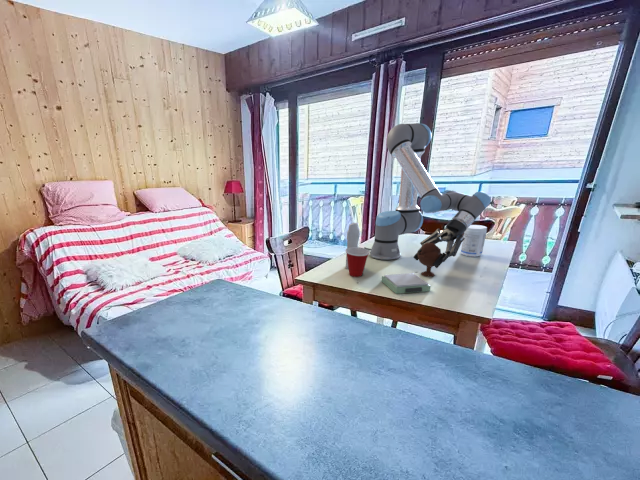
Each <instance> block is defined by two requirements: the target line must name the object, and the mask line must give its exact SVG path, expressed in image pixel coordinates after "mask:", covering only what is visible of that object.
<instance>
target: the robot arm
mask: <svg viewBox="0 0 640 480" xmlns="http://www.w3.org/2000/svg"><path fill="white" fill-rule="evenodd" d="M431 140H432V131H431V129H430V127H429V126H428V125H427V124H425V123H420V122H416V123H413V122H412V123H399V124H397V125H394V126H393V127H392V128H391V129H390V130H389V132H388V134H387V136H386V148H387V150H388V152H389V154H390V156H391V157H392V158H393V159H394V158H395V159H396V161H397V162H398V165H400V167H401V168H400V169H401V170H400V171H401V172H400V183H399V198H398V205H397V206H396V208H395V210H389V211H382V212H380V213H378V214H377V215H376V219H375V227H374V231H375V232H374V242H373V244H372V247H371V248H369V247H365V246H364V247H363V248H364V249H367V250H369V251H370V253H369V257H370V258H371V259H375V260H379V261H394V260H398V259H400V257H401V251H400V247H399V236H401V235H402V236H403V235H406V234H413V233H415V232H417V231H418V230H420V228H421V227H422V226H423V223H424V216H423V214H422V212H423V213H425V214H435V213H438V212H442V211H443V212H444V211H450V210H452V211H453V210H454V211H457V212H456V214H455V215H454V216H453V217H452V219H451V220H449V221H448V223H447V224H446V225H445V228H444V229H443V230H440V228H437V229H436V230H435V231H434V232H433V233H431V234H430V235H429V236H427V237H426V238H424V239H423V240H422V241H420V242H419V244H420V245H421V247H419V249H418V250H417V252H416V253H415V254H414V255H413V258H414V260H415V261H417V262H418V261H419V259H418V255H417V253H419V252H421V251H422V250H421V248H422V246H423V245H424V244H426V243H434V244H435V245H436V244H438V243H442V242H446V246H445V247H446V248H445V251H444V252H441V253H442V255H441V256H440V257H439V258H438V259H437V260H436V261H435V262H434V263H433V265H434V266H433V267H434V268H436V269H438V268H439V267H441V265H442V264H443V263H444V262H446V261H447V260H448V259H449V257H450V258H451V257H455V256H457V254H458V251H459V249H460V248H461V246H462V242H463V240H464V239H465V238H464V237H463V236H464V232H465V231H466V229H467V228H468V227H469V226H470V225H473V223H474V222H475V220H477V219H478V217H479V216H481V214H483V212H484V211H485V210H486V209H487V208H488V206H490V204H491V202H492V199H491V197H490V195H489V194H487V193H486V192H484V191H476V192H474V193H473V194H472V195H471V194H465V193H463V192H462V193H461V192H458V191H456V190H450V189H445V190H444V191H442V192H440V189H438V187H437V186H436V184H435V182H434V180H433V179H432V178H431V176H430V174H429V173H428V172H427V170H426V168H425V167H424V165H423V163H422V162H421V158H422V156H423V155H424V153H425V151H426V148H427V147H428V146H429V144H430V142H431ZM418 196H419V199H420V203H419V204H420V205H419V206H420V207H419V206H418V204H417V203H418ZM420 210H421V211H422V212H421V211H420Z"/></svg>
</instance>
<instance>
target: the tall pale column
mask: <svg viewBox="0 0 640 480" xmlns="http://www.w3.org/2000/svg"><path fill="white" fill-rule="evenodd" d="M360 230H361V228H360V225H359V222H352V223H350V224H349V225H348V230H347V231H346V243H347V244H346V249H347V248H351V247H359V237H360ZM345 269H348V270H349V268H348V260H347V253H346V254H345Z"/></svg>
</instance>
